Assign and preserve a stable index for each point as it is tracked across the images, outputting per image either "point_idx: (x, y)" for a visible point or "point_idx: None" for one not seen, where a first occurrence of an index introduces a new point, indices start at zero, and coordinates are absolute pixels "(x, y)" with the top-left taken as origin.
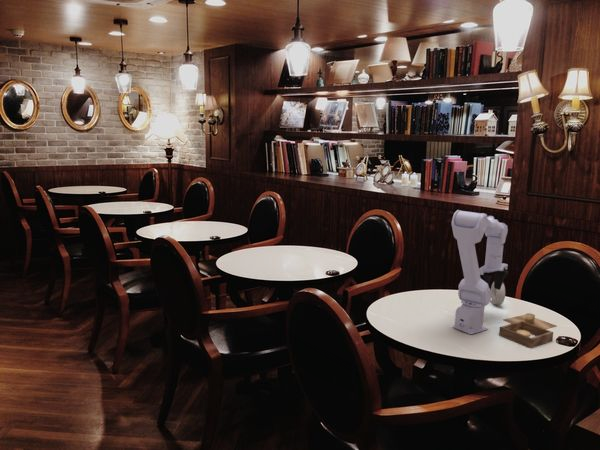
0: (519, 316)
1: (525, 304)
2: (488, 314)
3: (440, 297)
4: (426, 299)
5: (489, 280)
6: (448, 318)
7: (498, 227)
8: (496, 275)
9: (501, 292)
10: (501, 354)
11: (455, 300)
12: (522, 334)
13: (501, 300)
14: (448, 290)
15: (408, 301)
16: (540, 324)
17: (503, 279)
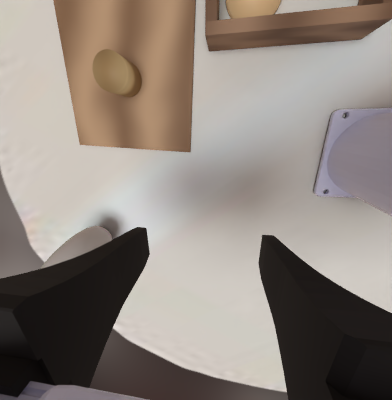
0: (113, 142)
1: (25, 199)
2: (188, 206)
3: (196, 334)
4: (240, 345)
5: (321, 296)
6: (332, 249)
7: None
8: (99, 326)
9: (81, 247)
10: None
11: (180, 307)
12: None
13: (99, 229)
14: (140, 343)
15: None
16: (103, 42)
17: (84, 258)
